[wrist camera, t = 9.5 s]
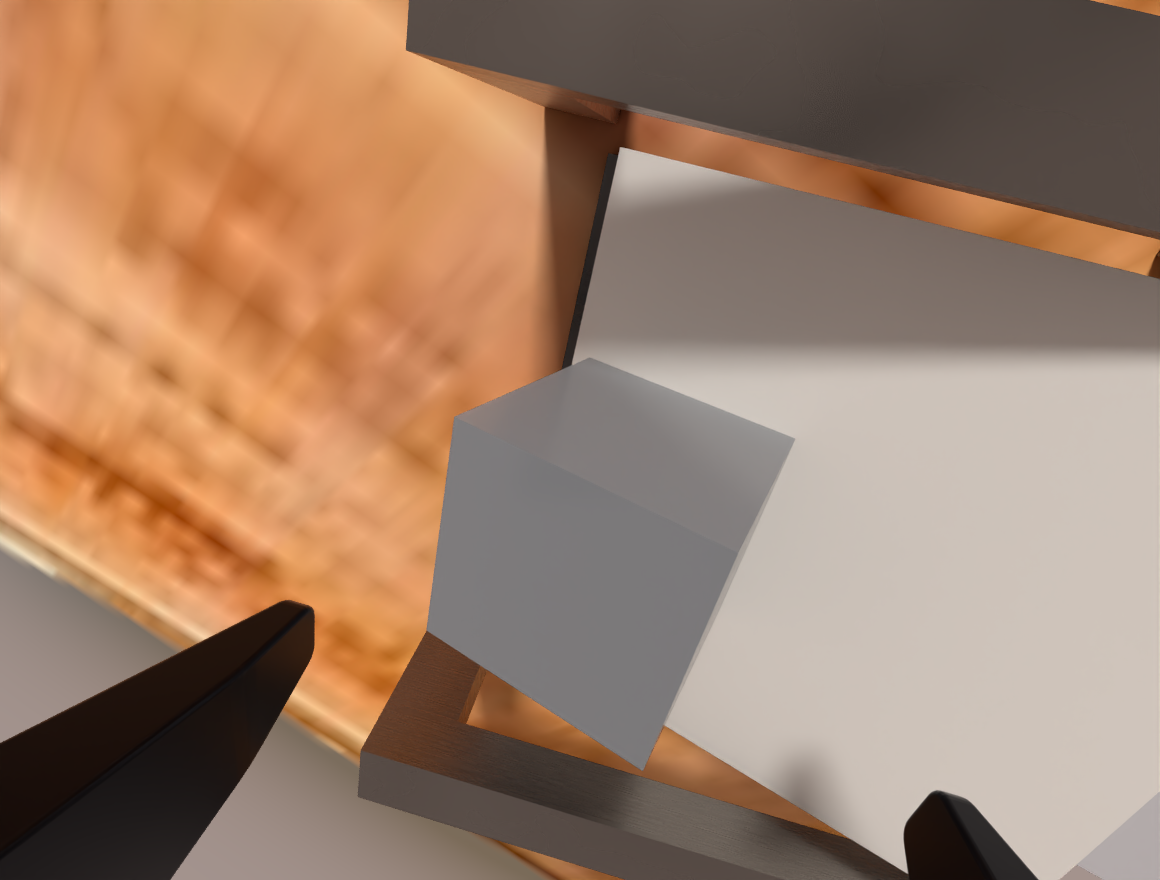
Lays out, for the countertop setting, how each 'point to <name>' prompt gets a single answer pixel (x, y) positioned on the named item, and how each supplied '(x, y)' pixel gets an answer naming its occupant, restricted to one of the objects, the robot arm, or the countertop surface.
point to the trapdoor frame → (811, 126)
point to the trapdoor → (914, 509)
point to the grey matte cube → (596, 542)
